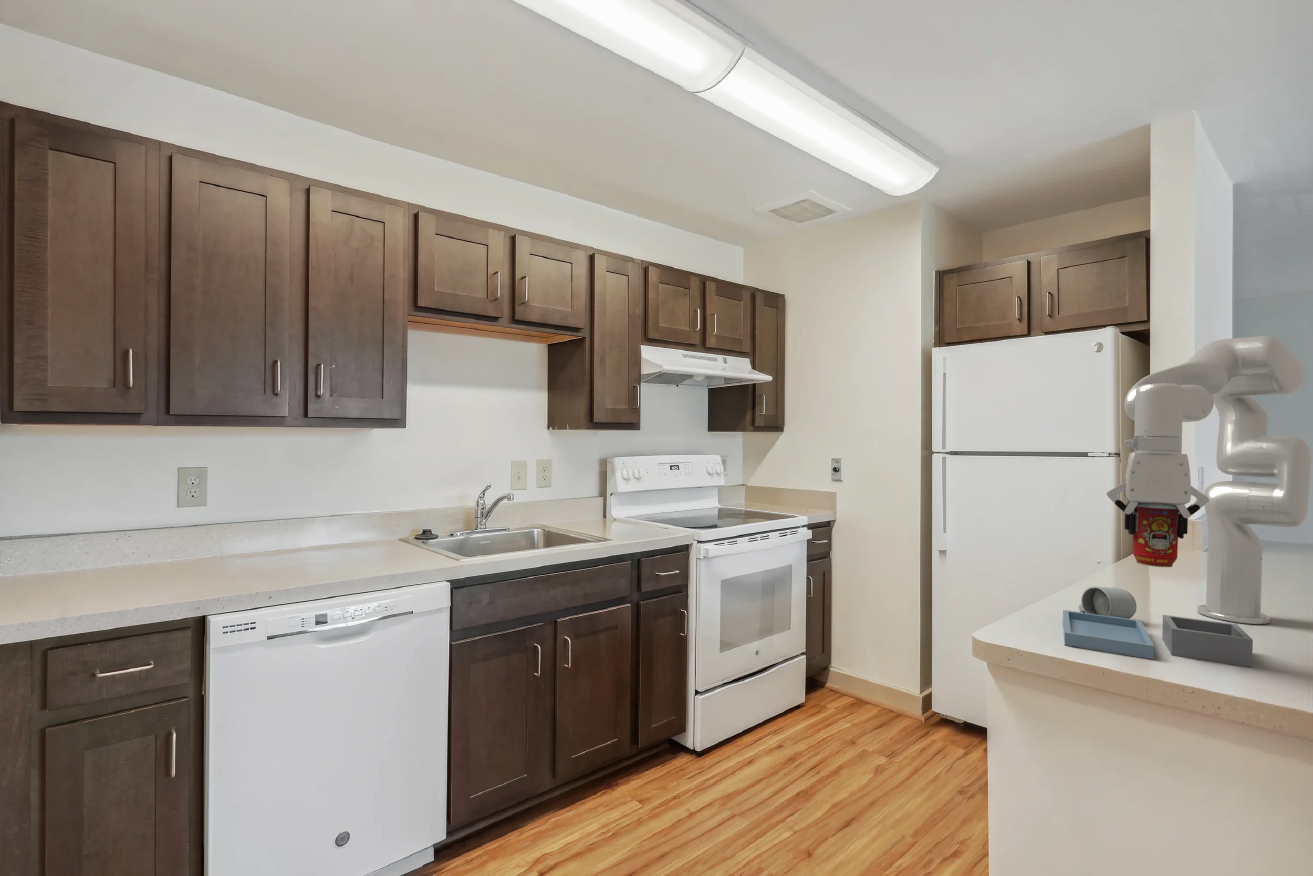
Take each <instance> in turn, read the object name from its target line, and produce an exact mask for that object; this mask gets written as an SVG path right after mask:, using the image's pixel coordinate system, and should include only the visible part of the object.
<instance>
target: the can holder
mask: <svg viewBox="0 0 1313 876" xmlns="http://www.w3.org/2000/svg"><path fill="white" fill-rule="evenodd" d="M1161 634H1162V635H1161V639H1162V641H1163V642H1164V645H1165V646H1166V648H1167V650H1168V651H1169V654H1170V655H1171V656H1177V657H1181V658H1182V657H1183V658H1189V659H1195V660H1201V661H1207V662H1216V663H1222V664H1227V665H1234V666H1240V665H1242V666H1241V667H1246V666H1250V667H1249V668H1253V648H1254V647H1253V643H1254V641H1253V638H1252V637H1250V636H1249V634H1248V633H1246V632H1245V630H1244V629H1242V628H1241V627H1240V626H1239V625H1238V624H1236V623H1230V622H1229V623H1228V622H1224V621H1223V622H1221V621H1215V620H1214V621H1212V620H1207V619H1205V620H1204V619H1198V618H1192V617H1191V618H1190V617H1183V616H1177V615H1176V616H1174V615H1168V614H1162V633H1161Z"/></svg>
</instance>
